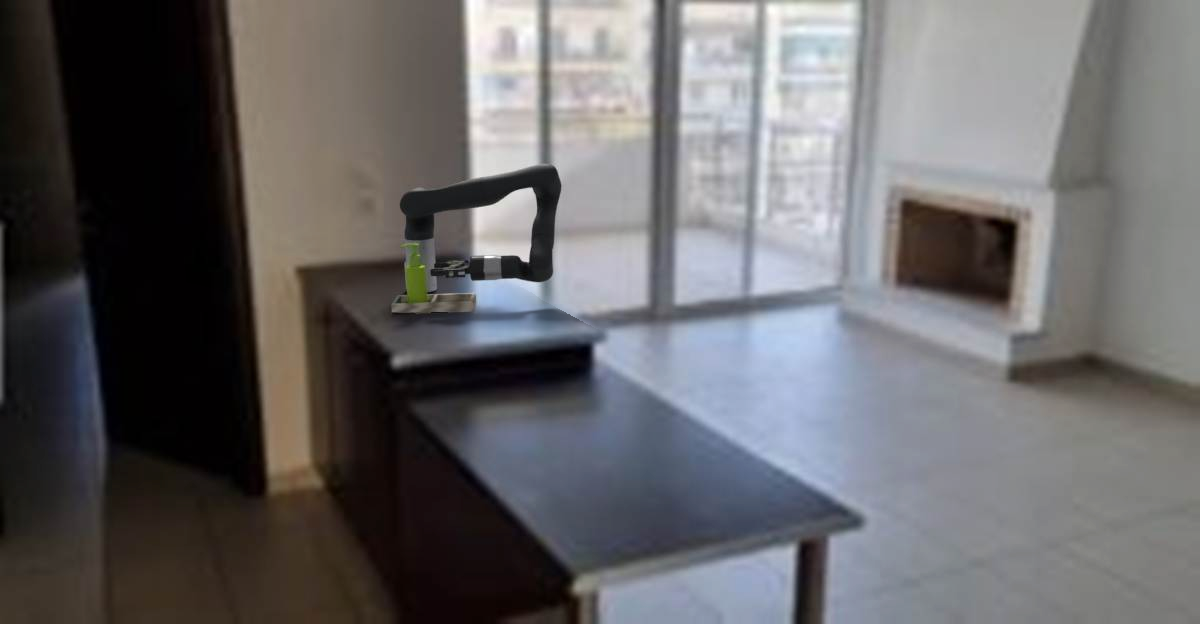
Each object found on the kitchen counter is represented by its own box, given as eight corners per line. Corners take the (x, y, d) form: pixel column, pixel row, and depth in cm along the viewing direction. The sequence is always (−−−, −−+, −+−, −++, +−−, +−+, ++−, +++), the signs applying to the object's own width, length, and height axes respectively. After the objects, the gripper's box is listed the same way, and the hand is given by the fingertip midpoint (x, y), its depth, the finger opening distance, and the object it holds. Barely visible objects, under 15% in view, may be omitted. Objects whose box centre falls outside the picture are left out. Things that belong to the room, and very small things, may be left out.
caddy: (391, 314, 309) (391, 304, 309) (398, 304, 321) (397, 295, 320) (472, 311, 310) (472, 301, 309) (476, 302, 322) (475, 292, 321)
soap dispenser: (405, 307, 318) (401, 242, 313) (428, 306, 318) (424, 241, 314) (403, 311, 312) (399, 245, 307) (427, 310, 313) (423, 245, 308)
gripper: (487, 251, 319) (434, 252, 319) (483, 260, 305) (428, 261, 305) (488, 275, 321) (435, 276, 320) (485, 285, 307) (430, 286, 307)
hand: (432, 269), depth 313 cm, fingers open, 8 cm apart
